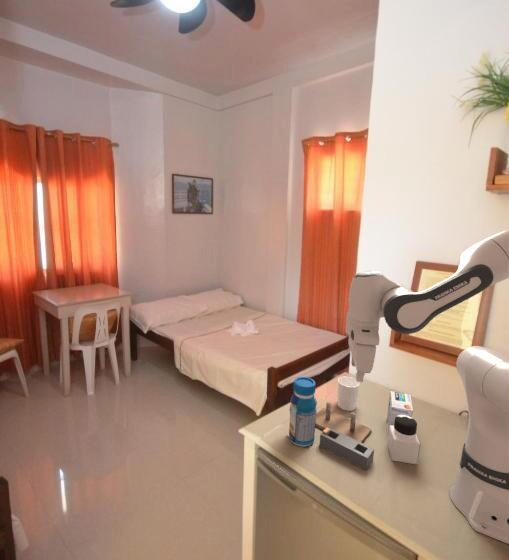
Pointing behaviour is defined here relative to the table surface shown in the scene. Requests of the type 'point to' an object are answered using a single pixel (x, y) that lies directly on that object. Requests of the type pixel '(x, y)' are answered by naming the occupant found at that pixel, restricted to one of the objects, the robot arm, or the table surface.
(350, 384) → the white cup
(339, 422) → the board
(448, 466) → the table surface
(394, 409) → the light bulb box
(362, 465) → the grey block with holes
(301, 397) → the beverage bottle
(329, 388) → the table surface
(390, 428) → the medicine bottle
